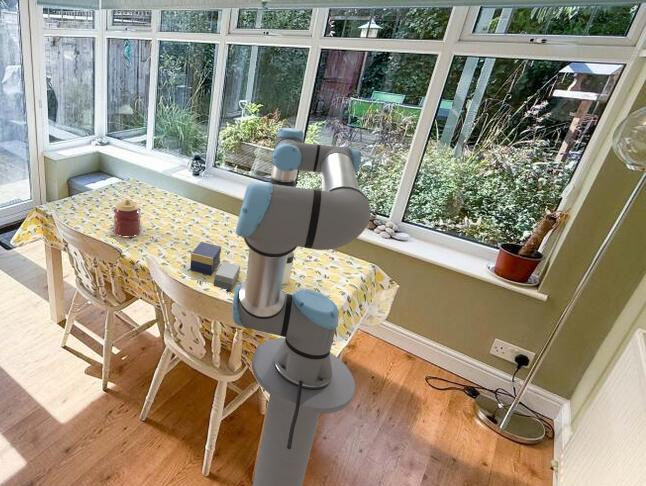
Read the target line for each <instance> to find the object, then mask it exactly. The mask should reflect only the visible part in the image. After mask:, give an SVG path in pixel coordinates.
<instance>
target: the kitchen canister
mask: <svg viewBox="0 0 646 486" xmlns="http://www.w3.org/2000/svg"><path fill="white" fill-rule="evenodd" d="M141 211H142V210H141V208H140V205H139V204H138V203H137V202H136V201H134V200H130V199H129V198H125V200H121V201H119V202H118V203H116V204H115V208H114V209H113V213H114V215H113V232H114V234H115V233H116V234H118V235H121V236H134V235H137V234H138V233H140V234H141V229H142V228H141V219H142V218H141ZM116 234H115V235H116ZM137 236H138V235H137Z"/></svg>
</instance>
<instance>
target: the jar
mask: <svg viewBox="0 0 646 486" xmlns="http://www.w3.org/2000/svg"><path fill="white" fill-rule="evenodd" d="M294 257H295V254H294V251H293V252H292V253H291V254H289V255H288V258H287V263H286V267H285V272H284V277H283V281H282V285H286V284H287V285H288V284H290V281H291V277H292V270H293V264H294Z"/></svg>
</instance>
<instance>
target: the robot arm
mask: <svg viewBox="0 0 646 486" xmlns="http://www.w3.org/2000/svg"><path fill="white" fill-rule="evenodd" d="M304 136H305V135H304V131H303V130H302V129H300V128H294V127H282V128H279V129H278V130H277V134H276V137H275V145H274V149H273V151H272V157H271V158H272V164H271V172H270V179H269V181H268V182H267V181H266V182H258V181H253V182H251V183H249V184H248V185H247V186H246V188H245V192H244V196H243V200H242V204H241V207H240V211H239V215H238V219H237V223H236V228H235V234H236V236H238V237H240V238H242V239H243V240H244V243H245V244H246V246H247V248H248V256H247V258H248V259H247V269H246V280H245V281H244V282H243V283H238V284H237V285H236V287H235V289H234V292H233V298H232V310H231V314H232V320H233V322H234V324H235V325H237V326H239V327H242V328H244V329H247V330H248V329H249V330H253V331H257V332H262V333H266V334H270V335H274V336H279V337H281V338H285V341H284V342H283V343H282V345H281V346H280V348H279V349H278V351H277V352H276V354H275V358H274V366H275V369H276V371H277V372H278V374H279V375H280V376H281V377H282V378H283V379H284V380H286V381H287V382H289V383H290V384H292V385H294V386H297V387H298V393H297V401H296V408H295V412H294V416H293V420H292V423H291V427H290V432H289V438H288V444H287V448H288V449H291V445H292V439H293V433H294V428H295V424H296V420H297V417H298V413H299V407H300V399H301V391H302V388H303V389H308V390H319V389H323V388H325V387H327V386H328V385H329V384H330V382H331V378H332V366H331V360H330V352H331V349H332V347H333V346H332V345H333V342H334V338H335V334H336V330H337V328H338V325H339V322H338V321H339V316H340V315H339V314H340V313H339V308H338V306H337V304H336V303H335V302H334V300H332V299H331V298H330V297H328V296H327V295H325V294H323V293H322V292H319V291H317V290H314V289H309V288H302V289H301V288H299V289H297V290H295V291H294V292H293V293H292V294H290V293H287V292H286V293H285V292H284V291H283V288H282V285H283V284H282V281H283V277H284V272H285V267H286V263H287V258H288V255H289V254H291V253H292V252H293V253H294V252H295V250H296V249H297V248H298V247H299V248H304V249H311V250H314V251H315V250H316V251H329V250H335V249H338V248H341V247H344V246H346V245H348V244H350V243H352V242H353V241H355V240H357V238H359V237H360V236H361V234H363V232H364V231H365V230H366V228H367V227H368V226H369V223H370V220H371V216H372V215H371V213H372V212H371V211H372V209H371V205H370V201H369V199H368V197H367V196H366V194H365V193H364V192H362V190H360V186H359V183H358V179H357V174H358V173H359V170H360V167H361V161H362V152H361V150H360V149H359V148H354V147H349V146H337V145H326V144H315V143H308V142H307V143H306V142H304ZM298 171H306V172H311V173H320V174H321V177H320V178H321V190H320V189H314V188H306V187H297V186H296V179H297V175H298Z"/></svg>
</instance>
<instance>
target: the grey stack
mask: <svg viewBox="0 0 646 486" xmlns="http://www.w3.org/2000/svg"><path fill="white" fill-rule="evenodd" d="M240 269H241V265H240V264H235V263H231V262H227V261H222V263H221V265H220V266H219V268H218V270H217V271H216V273H215V274H214V280H213V285H212V286H213V287H214V288H215V287H216V288H219V289H223V290H227V291H230V292H231V291H233V289H234V287H235V285H236V283H237V281H238V279H239V277H240V272H241V271H240Z"/></svg>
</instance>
